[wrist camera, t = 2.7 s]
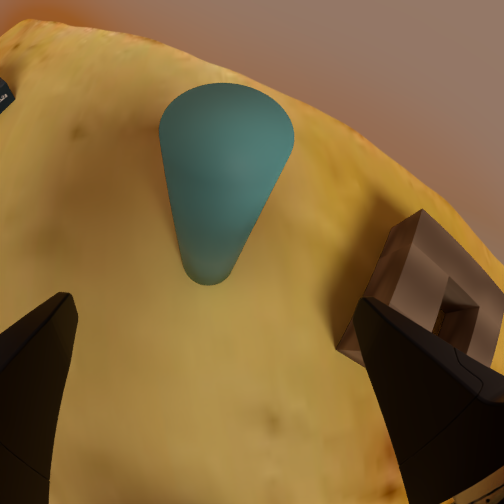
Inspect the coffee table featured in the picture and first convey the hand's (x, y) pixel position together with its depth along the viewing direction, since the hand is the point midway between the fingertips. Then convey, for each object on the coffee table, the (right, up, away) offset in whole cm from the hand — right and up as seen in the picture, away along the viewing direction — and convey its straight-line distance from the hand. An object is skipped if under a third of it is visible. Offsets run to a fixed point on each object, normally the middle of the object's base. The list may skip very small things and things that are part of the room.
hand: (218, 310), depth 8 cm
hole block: (+16, -5, +14) cm, 22 cm away
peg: (-2, +1, +12) cm, 12 cm away
